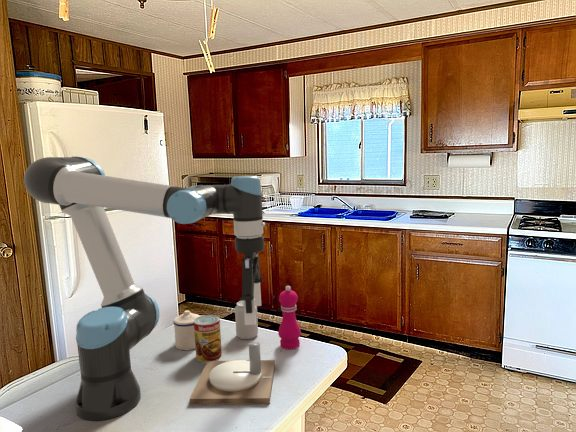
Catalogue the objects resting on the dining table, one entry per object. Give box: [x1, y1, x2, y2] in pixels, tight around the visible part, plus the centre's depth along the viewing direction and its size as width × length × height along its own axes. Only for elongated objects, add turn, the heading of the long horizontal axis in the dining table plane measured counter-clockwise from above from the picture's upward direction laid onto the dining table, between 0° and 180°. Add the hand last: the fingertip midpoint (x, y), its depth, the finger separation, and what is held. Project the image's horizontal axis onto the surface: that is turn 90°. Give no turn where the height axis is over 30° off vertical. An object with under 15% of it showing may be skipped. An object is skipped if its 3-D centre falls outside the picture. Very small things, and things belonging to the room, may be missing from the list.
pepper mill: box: [278, 285, 302, 350], centre depth 137 cm, size 7×7×20 cm
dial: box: [209, 341, 262, 392], centre depth 115 cm, size 14×14×10 cm
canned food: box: [194, 314, 223, 363], centre depth 132 cm, size 8×8×12 cm
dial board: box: [189, 359, 276, 406], centre depth 116 cm, size 20×20×2 cm
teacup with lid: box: [172, 310, 201, 351], centre depth 142 cm, size 12×9×12 cm
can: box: [234, 300, 259, 340], centre depth 146 cm, size 8×8×12 cm
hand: (253, 314), depth 113 cm, fingers open, 13 cm apart
